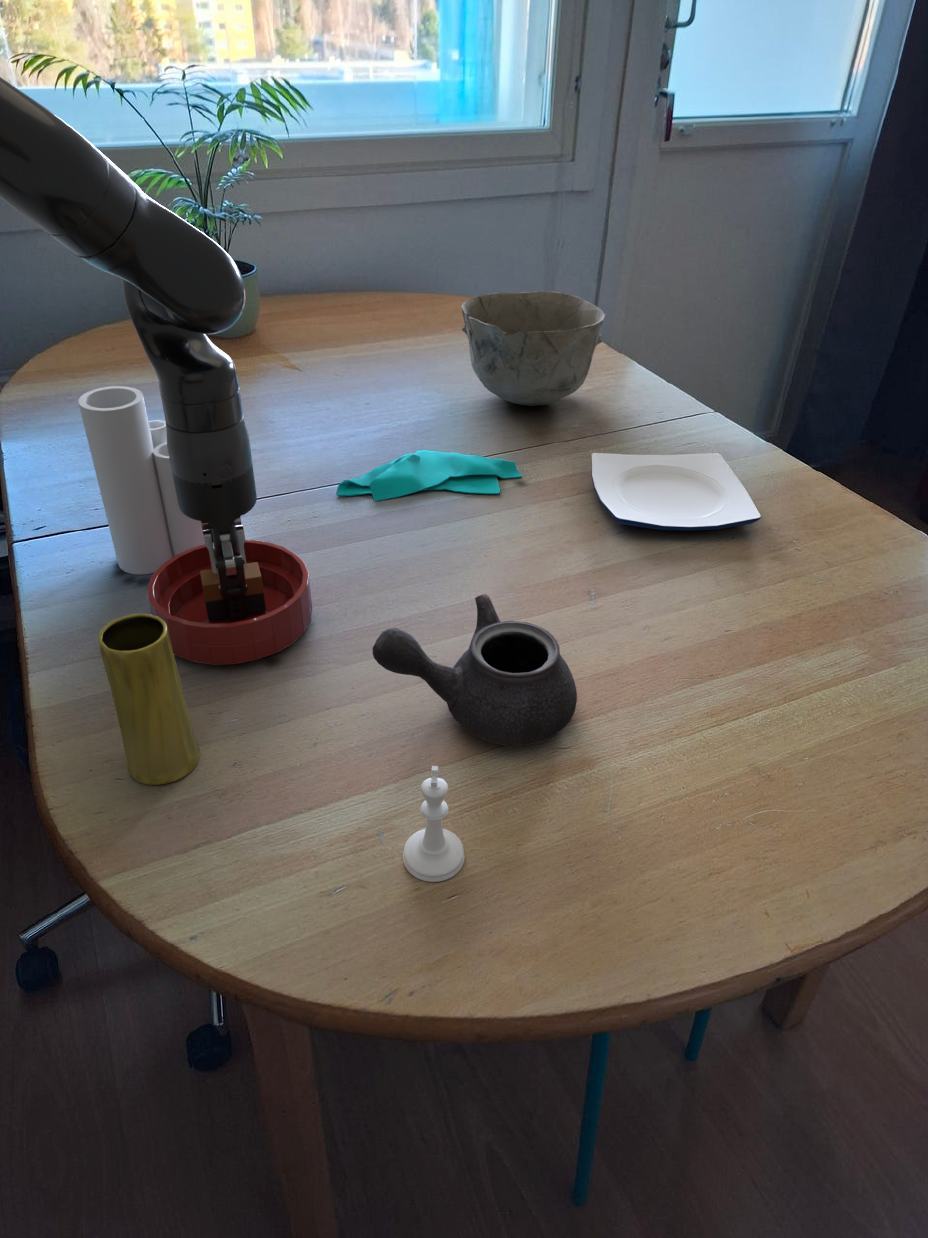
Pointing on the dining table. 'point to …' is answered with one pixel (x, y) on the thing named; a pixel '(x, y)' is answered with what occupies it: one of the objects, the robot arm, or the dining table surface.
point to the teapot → (494, 678)
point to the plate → (672, 491)
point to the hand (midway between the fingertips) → (235, 607)
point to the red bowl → (226, 640)
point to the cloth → (431, 475)
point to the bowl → (531, 343)
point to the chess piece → (433, 837)
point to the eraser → (253, 596)
